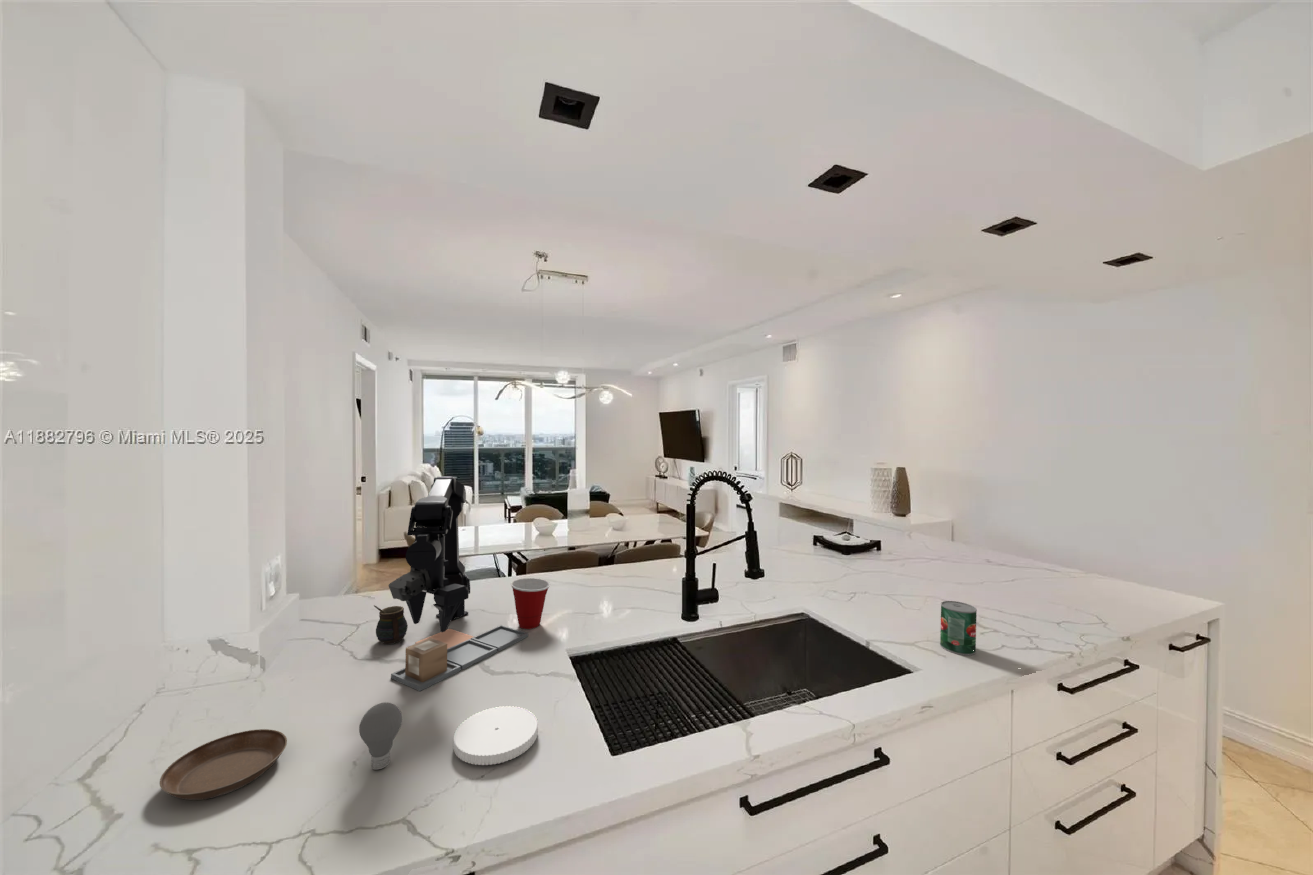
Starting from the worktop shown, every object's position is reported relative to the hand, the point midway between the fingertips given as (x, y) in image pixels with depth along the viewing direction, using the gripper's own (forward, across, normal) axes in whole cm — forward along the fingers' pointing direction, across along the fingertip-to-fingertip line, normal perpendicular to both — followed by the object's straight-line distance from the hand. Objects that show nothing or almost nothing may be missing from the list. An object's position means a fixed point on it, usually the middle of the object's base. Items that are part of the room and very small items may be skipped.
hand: (429, 627), depth 106 cm
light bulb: (+11, +19, -22) cm, 32 cm away
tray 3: (+10, 0, +21) cm, 23 cm away
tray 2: (+10, 0, +10) cm, 14 cm away
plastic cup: (+10, 0, +32) cm, 33 cm away
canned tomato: (+11, +104, +78) cm, 131 cm away
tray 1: (+10, 0, 0) cm, 10 cm away
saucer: (+11, 0, -35) cm, 37 cm away
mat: (+10, -11, +13) cm, 20 cm away
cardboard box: (+10, 0, 0) cm, 10 cm away
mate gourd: (+10, -23, +6) cm, 26 cm away
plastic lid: (+11, +30, -9) cm, 34 cm away
